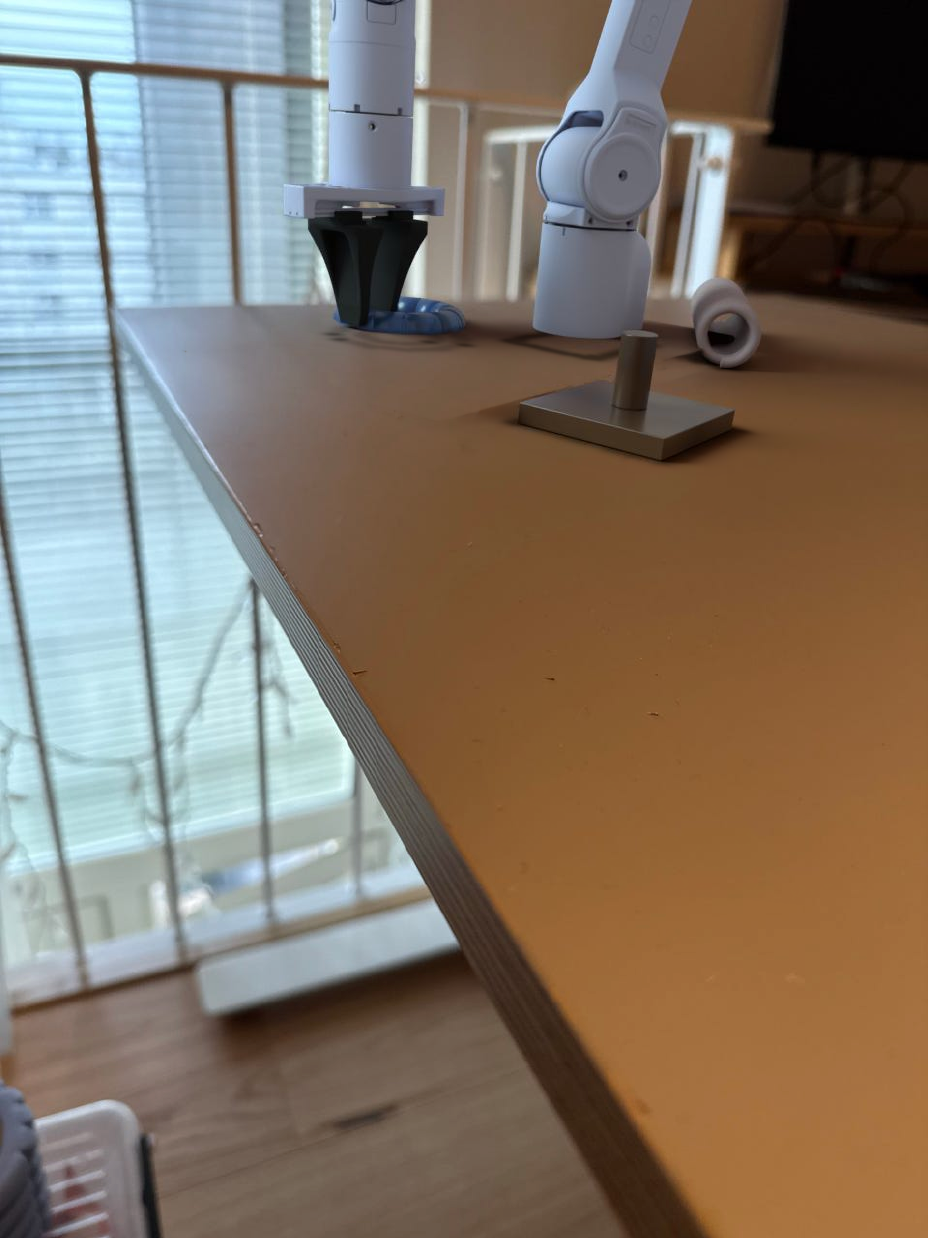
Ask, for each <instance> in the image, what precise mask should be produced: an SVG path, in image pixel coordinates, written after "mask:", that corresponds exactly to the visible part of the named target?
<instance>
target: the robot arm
mask: <svg viewBox="0 0 928 1238" xmlns="http://www.w3.org/2000/svg"><path fill="white" fill-rule="evenodd" d="M416 3H417V0H330V1H329V13H330V31H329V33H328V181H322V182H320V183H318V182H317V183H284V184H283V186H282V187H283V189H282V190H283V194H282V195H283V216H284V217H291V218H292V217H293V218H298V219H304V220H306V219H307V230H308V232H309V234H310V236H311V237H312V239H313V241H314V244H315V245H316V247H317V249H318V251H319V253H320V256H321V257H322V260H323V263H324V265H325V268H326V271H327V274H328V276H329V281H330V284H331V287H332V291H333V296H334V299H335V304H336V308H338V313H339V317H340V321H341V323H346V324H350V325H355V326H366V324H367V320H368V315H369V309H374V310H380V311H391V312H396V311H397V307H398V303H399V299H400V296H402V292H403V288H404V285H405V282H406V279H407V276H408V273H409V271H410V268H411V265H412V263H413V261H414V259H415V257H416V255H417V253H418V251H419V249H420V247H421V246H422V244H423V243H424V242H425V239H427V236H428V235H429V234H428V233H429V221H427V220H423V219H415V218H414V216H431V217H443V216H445V215H444V214H445V198H446V197H445V196H446V189H445V188H443V187H434V186H425V185H424V186H422V185H421V186H420V185H412V164H413V139H414V136H413V134H414V118H413V117H414V106H415V105H414V102H415V79H416V78H415V77H416V75H415V74H416V73H415V71H416V52H417V51H416V50H417V41H416V40H417V39H416V35H415V31H416V30H415V28H416ZM692 3H693V0H611V4H610V7H609V9H608V13H607V16H606V19H605V22H604V25H603V29H602V31H601V35H600V38H599V41H598V44H597V46H596V47H597V48H596V50H595V53H594V57H593V59H592V63H591V66H590V69H589V72H588V73H587V75H586V77H585V78H584V79H583V80H582V82H581V84H580V85H579V86H578V87H577V88H576V90H575V92H574V93H573V95H572V96H571V97H570V99H569V100H568V101H567V103H566V106H565V110H564V113H563V116H562V118H561V120H560V123H559V124H558V126H557V127H556V129H555V130H554V131H553V133H552V134H551V135H550V136H549V137H548V138H547V139H546V141H545V142H544V144H543V145H542V147H541V149H540V151H539V154H538V156H537V160H536V167H535V169H536V170H535V176H536V184H537V186H538V191H539V192H540V195H541V196H542V198H543V199H544V202H546V203H547V205H546V209H545V210H544V212H543V213H542V214H543V216H542V220H543V222H542V223H541V224H542V226H541V233H540V234H541V235H540V246H539V255H538V257H539V258H538V266H537V275H536V276H537V277H536V287H535V298H534V306H533V307H534V308H533V318H532V328H533V329H534V330H537V331H539V332H542V333H546V334H550V335H553V336H560V337H569V338H575V339H577V338H578V339H591V340H592V339H593V340H594V339H597V340H599V339H604V340H605V339H615V338H619V337H621V334H622V331H625V330H642V329H643V326H644V325H643V324H644V319H645V312H646V311H645V310H646V304H647V298H648V290H649V286H650V285H649V284H650V278H651V272H652V254H651V249H650V247H649V244H648V243H647V240H646V238H645V237H644V236H643V235H642V233H640V232H639V231H638V227H639V220H640V215H642V214H643V213H644V212H645V211H646V210H647V209H648V208H649V206H650V205H651V204H652V202H653V201H654V199H655V197H656V195H657V193H658V190H659V187H660V183H661V178H662V155H661V153H662V145H663V142H664V139H665V138H664V137H665V134H666V132H667V129H668V126H669V118H668V115H667V111H666V109H665V106H664V102H663V98H662V94H661V91H662V88H663V85H664V83H665V79H666V77H667V74H668V71H669V69H670V65H671V62H672V60H673V57H674V54H675V51H676V48H677V45H678V42H679V40H680V37H681V34H682V31H683V28H684V25H685V23H686V19H687V17H688V13H689V11H690V8H691V5H692ZM361 203H378V204H379V205H383V206H384V205H385V206H394V207H361Z"/></svg>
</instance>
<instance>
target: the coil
mask: <svg viewBox="0 0 928 1238" xmlns="http://www.w3.org/2000/svg"><path fill="white" fill-rule="evenodd" d="M690 313H691V319H692V323H693V324H692V325H693V327H694V328H693V329H694V334H695V339H696V344H697V347H698V349H699V352H700V353H701V355H702V356H703V357H704V359H706V360H708V361H709V362H710V363H713V364H715V365H719V368H722V369H730V368H736V367H738V366H741V365H742V364H744V363H746V362H747V361H748V360H749V359H751V358H752V357H753V355H755V353H756V351H757V350H758V348H759V346H760V342H761V338H762V326H761V322H760V320H759V318H758V315H757V314H756V312H755V311H754V309H753V307H752V306H751V304H750V302H749V301H748V299H747V297H746V295H745V293H744V292H743V290H742V289H741V287H740V286H739V285H738V284H737V283H736V281H733V280H731V279H730V278H727V277H720V276H719V277H713V278H709V279H707V280H705V281H703V282H702V283H701V284H700V285H699V286H698V287H697V288H696V289H695V291H694V293H693V295H692V297H691V301H690ZM728 314H730V316H729V317H728V318H727V319H726V320H724V321H722V320H719V321H715V320H716V319H718V318H719V317H721V316H723V315H728ZM708 332H712V333H717V334H722V335H723V334H724V335H729V336H733V340H729V341H726V342H723V343H719V344H716V345H711V341H710V339H709V335H708Z"/></svg>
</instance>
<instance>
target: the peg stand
mask: <svg viewBox="0 0 928 1238" xmlns="http://www.w3.org/2000/svg"><path fill="white" fill-rule="evenodd" d="M658 340H659V334H658V333H655V332H651V331H649V330H648V331H647V330H642V329H640V330H625V331H622V334H621V336H620V341H619V350H618V356H617V363H616V369H615V370H616V371H615V376H614V377H615V378H614V381H613V382H612V381H609V380H603V379H599V380H595V381H591V382H588V383H585V384H580V385H577V386H574V387H570V388H567V389H563V390H559V391H556V392H551V393H549V394H544V395H542V396H541V395H540V396H537V397H534V398H529V399H526V400H523V401H520V402H519V405H518V416H517V417H518V418H517V423H518V424H520V425H523V426H528V427H531V428H536V429H540V430H544V431H547V432H550V433H554V434H558V435H562V436H566V437H570V438H573V439H576V440H581V441H585V442H588V443H593V444H597V445H599V446H604V447H607V448H611V449H616V450H619V451H622V452H627V453H631V454H634V455H638V456H642V457H645V458H649V459H653V460H657V461H663V460H666V459H668V458H670V457H673V456H674V455H677V454H679V453H682V452H683V451H686V450H689V449H690V448H692V447H695V446H698V445H700V444H702V443H704V442H706V441H709V440H711V439H712V438H715V437H717V436H720V435H722V434H724V433H726V432H728V431H730V430H732V427H733V422H734V417H735V411H736V410H735V409H734V408H729V407H725V406H721V405H716V404H711V403H707V402H702V401H698V400H693V399H690V398H689V399H688V398H685V397H680V396H675V395H672V394H671V395H670V394H666V393H661V392H657V391H653V390H651V386H652V380H653V372H654V367H655V360H656V355H657V347H658V342H659V341H658Z"/></svg>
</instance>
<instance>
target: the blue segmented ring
mask: <svg viewBox="0 0 928 1238" xmlns="http://www.w3.org/2000/svg"><path fill="white" fill-rule="evenodd" d="M332 318H333V320H334V321H336V322H337V323H339V324H340V325H341V326H345V327H350V328H354V329H359V330H363V331H368V332H376V333H388V334H397V335H441V334H442V335H443V334H447V333H448V334H449V333H455V332H459V331H460V332H461V331H462V330H463V329H464V328H465V326H466V323H467V322H466V316H465V314H464V313H463V311H462V310H461V309H460V308H459V307H456V306H454V305H452V304H450V303H448V302H445V301H442V300H441V301H440V300H436V299H431V298H430V299H429V298H425V297H416V296H403V295H401V296H400V299H399V303H398V307H397V311H396V312H391V311H380V310H374V309H369V315H368V320H367V324H366V326H355V325H350V324H346V323H341V321H340V317H339V313H338V308H337V307H335V309H334V311H333V317H332Z"/></svg>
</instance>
